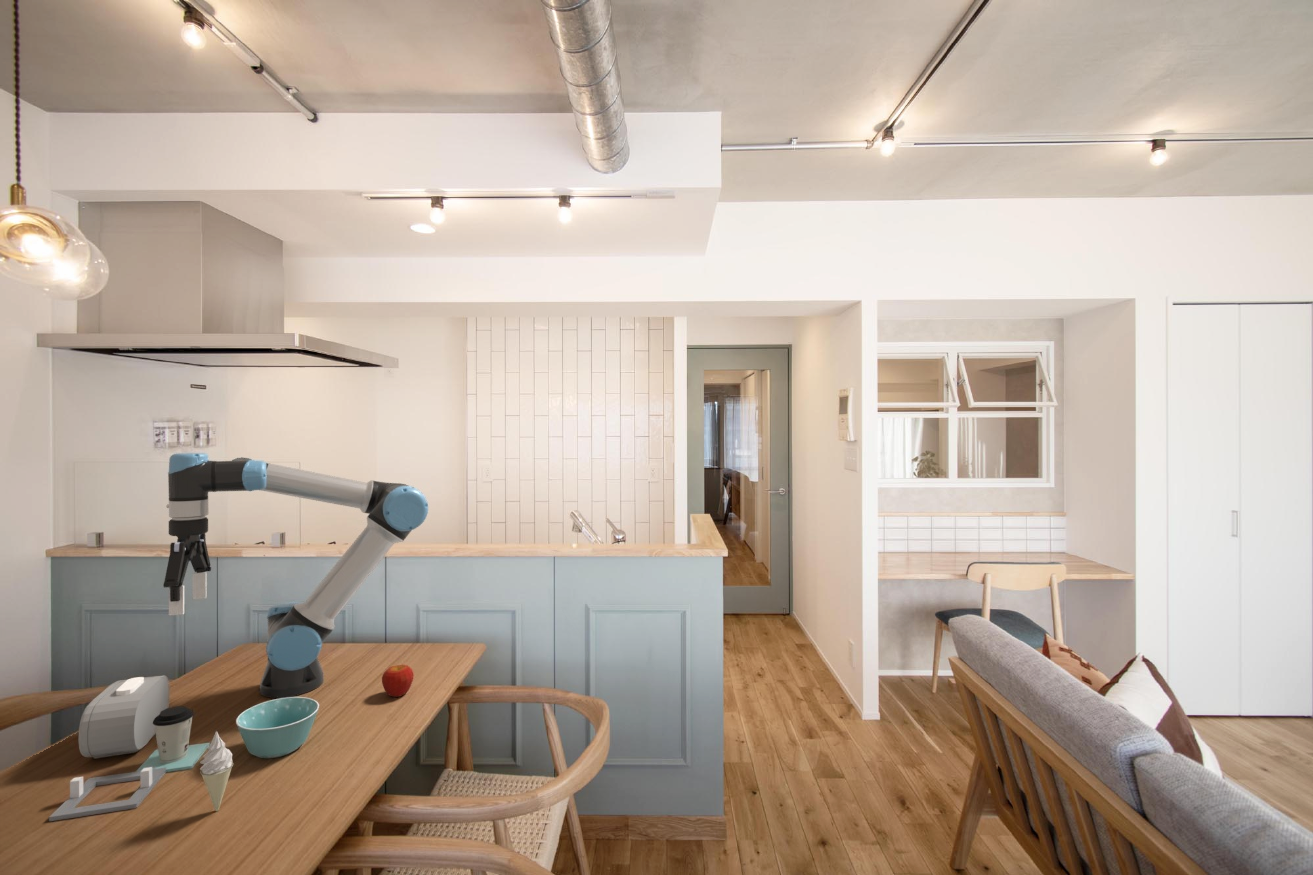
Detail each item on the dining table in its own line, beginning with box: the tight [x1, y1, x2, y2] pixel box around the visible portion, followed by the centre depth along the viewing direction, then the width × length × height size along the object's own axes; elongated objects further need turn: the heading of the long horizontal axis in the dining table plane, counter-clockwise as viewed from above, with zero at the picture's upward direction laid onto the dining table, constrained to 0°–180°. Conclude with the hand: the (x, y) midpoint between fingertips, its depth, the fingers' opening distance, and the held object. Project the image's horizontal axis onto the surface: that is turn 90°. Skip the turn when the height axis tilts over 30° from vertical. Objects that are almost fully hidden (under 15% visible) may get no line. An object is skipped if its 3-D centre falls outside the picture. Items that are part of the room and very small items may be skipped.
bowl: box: [235, 696, 320, 759], centre depth 137 cm, size 16×16×8 cm
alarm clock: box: [78, 675, 170, 759], centre depth 138 cm, size 21×10×13 cm, turn 22°
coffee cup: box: [153, 705, 195, 763], centre depth 131 cm, size 7×7×10 cm
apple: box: [381, 664, 415, 698], centre depth 165 cm, size 8×8×8 cm
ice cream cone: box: [199, 730, 234, 812], centre depth 114 cm, size 5×5×15 cm
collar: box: [48, 767, 167, 822], centre depth 119 cm, size 13×13×4 cm
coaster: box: [135, 742, 210, 773], centre depth 131 cm, size 10×10×1 cm
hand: (188, 606), depth 146 cm, fingers open, 13 cm apart
